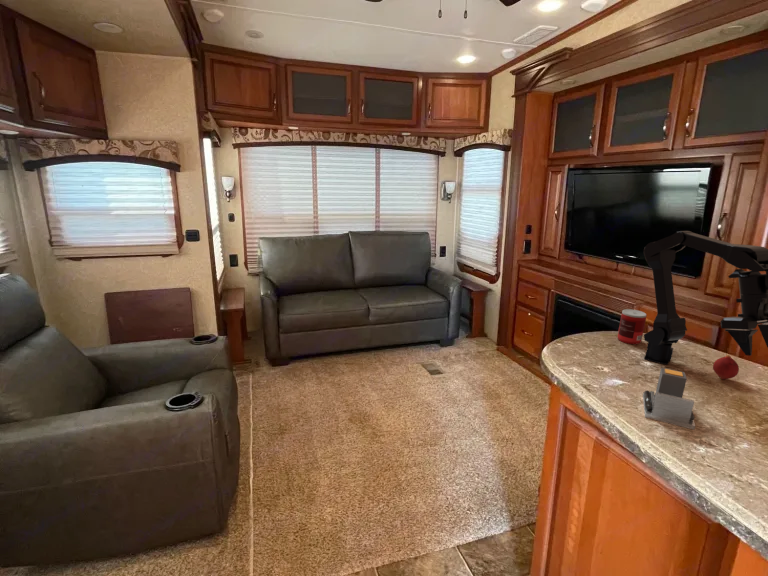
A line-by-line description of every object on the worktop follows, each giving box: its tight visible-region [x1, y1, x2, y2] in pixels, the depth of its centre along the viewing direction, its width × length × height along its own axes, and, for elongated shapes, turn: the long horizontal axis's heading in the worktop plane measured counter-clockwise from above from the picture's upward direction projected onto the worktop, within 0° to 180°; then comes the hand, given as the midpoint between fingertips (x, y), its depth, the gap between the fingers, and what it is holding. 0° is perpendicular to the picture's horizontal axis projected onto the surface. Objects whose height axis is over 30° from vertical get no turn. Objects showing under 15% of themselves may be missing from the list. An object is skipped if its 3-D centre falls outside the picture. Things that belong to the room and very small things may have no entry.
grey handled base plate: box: [642, 390, 696, 431], centre depth 100 cm, size 12×10×7 cm
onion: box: [712, 353, 740, 381], centre depth 117 cm, size 6×6×8 cm
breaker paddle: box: [654, 367, 687, 398], centre depth 102 cm, size 4×5×9 cm
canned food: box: [617, 308, 647, 345], centre depth 145 cm, size 8×8×11 cm
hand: (760, 353), depth 103 cm, fingers open, 9 cm apart
